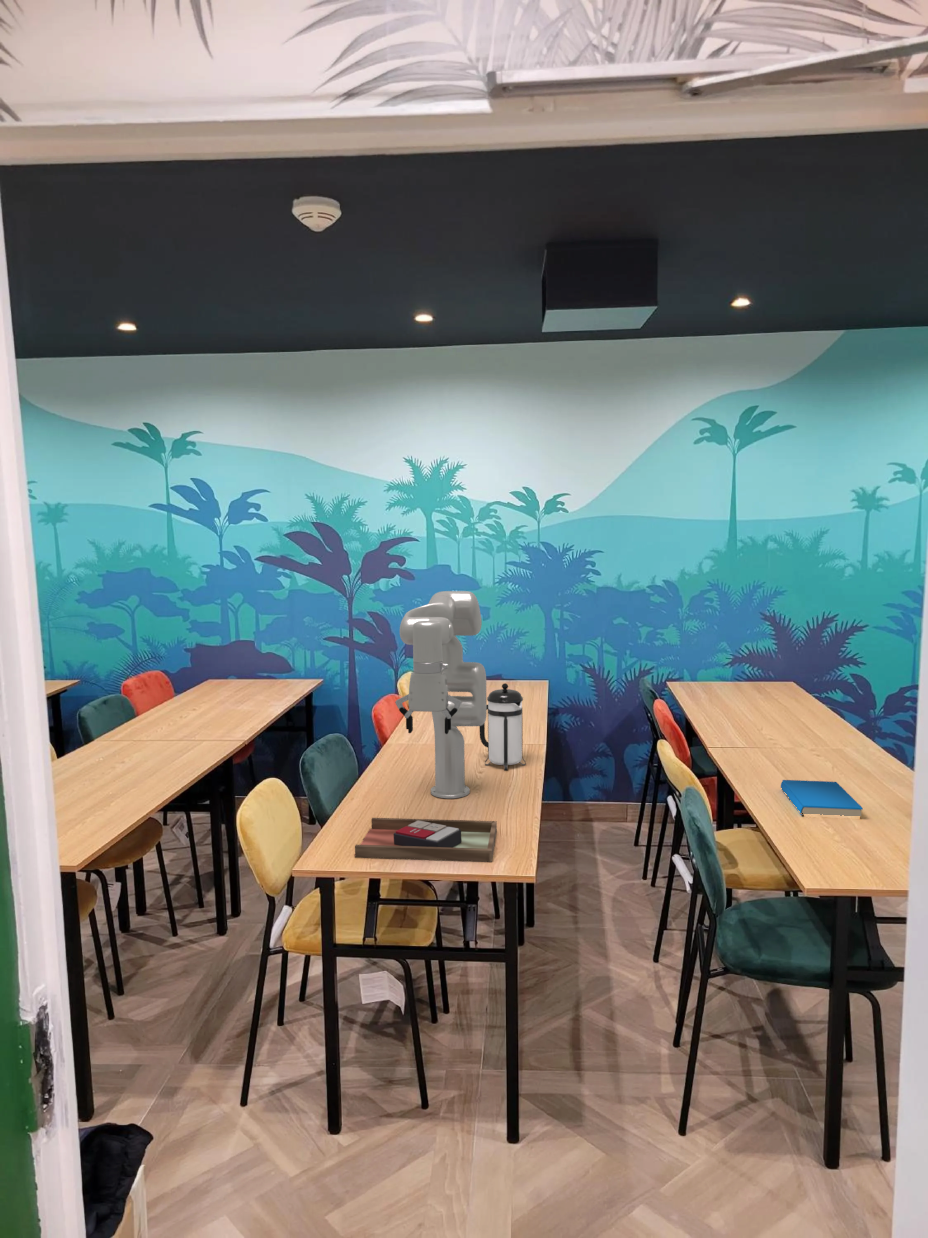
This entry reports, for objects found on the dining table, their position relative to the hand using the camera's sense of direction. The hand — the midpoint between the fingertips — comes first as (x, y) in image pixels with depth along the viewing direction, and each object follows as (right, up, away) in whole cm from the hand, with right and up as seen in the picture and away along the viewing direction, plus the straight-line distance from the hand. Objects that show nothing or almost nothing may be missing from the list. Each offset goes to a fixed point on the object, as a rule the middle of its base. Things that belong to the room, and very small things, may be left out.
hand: (428, 732), depth 208 cm
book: (+118, -28, +34) cm, 126 cm away
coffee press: (+23, -23, +79) cm, 85 cm away
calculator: (-1, -31, +5) cm, 31 cm away
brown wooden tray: (-1, -31, +5) cm, 31 cm away
